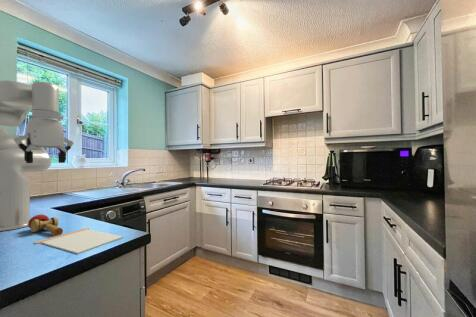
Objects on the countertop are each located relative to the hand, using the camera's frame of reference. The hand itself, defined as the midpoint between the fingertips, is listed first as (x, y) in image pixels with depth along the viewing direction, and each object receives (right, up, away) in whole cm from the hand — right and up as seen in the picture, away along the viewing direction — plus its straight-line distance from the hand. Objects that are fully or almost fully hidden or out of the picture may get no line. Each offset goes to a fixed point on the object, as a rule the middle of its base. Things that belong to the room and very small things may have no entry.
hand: (46, 162), depth 79 cm
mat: (+20, -26, -8) cm, 33 cm away
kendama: (-1, -26, +1) cm, 26 cm away
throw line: (+9, -26, -4) cm, 28 cm away
